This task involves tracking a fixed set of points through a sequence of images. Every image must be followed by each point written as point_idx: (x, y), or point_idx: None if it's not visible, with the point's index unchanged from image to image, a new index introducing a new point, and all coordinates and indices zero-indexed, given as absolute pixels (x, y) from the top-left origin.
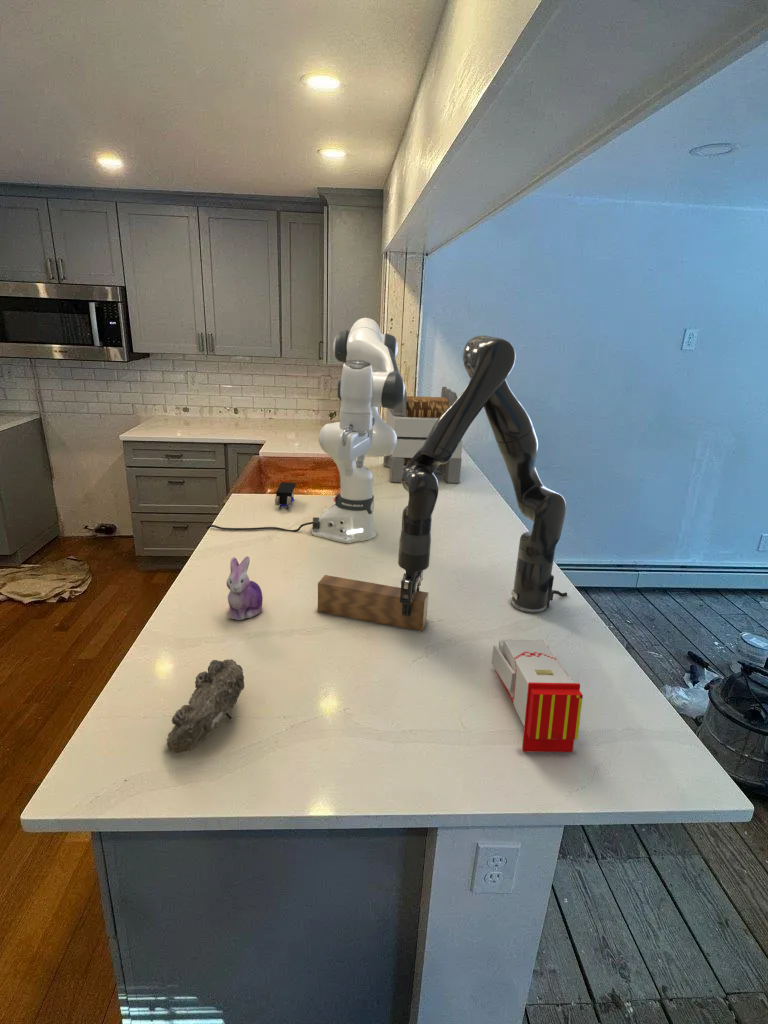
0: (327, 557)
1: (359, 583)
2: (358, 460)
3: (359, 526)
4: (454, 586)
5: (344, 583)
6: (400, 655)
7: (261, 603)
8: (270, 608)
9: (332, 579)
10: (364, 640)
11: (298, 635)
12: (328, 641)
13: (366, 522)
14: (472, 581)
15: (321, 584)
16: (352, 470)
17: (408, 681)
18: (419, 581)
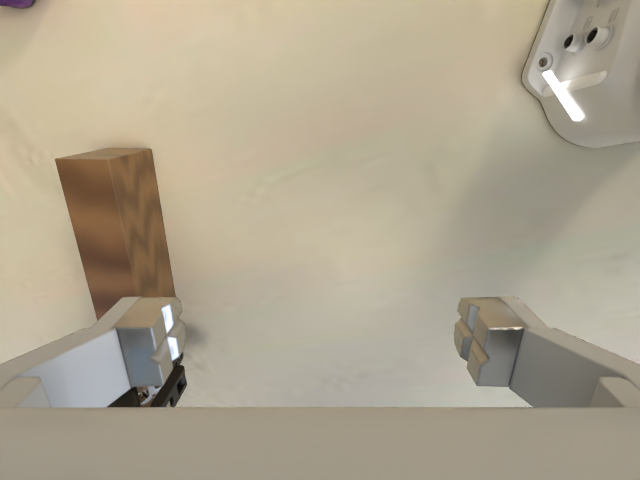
0: (402, 52)
1: (114, 259)
2: (529, 351)
3: (585, 109)
4: (337, 371)
5: (93, 226)
6: (63, 330)
7: (3, 5)
8: (57, 24)
9: (94, 189)
10: (68, 269)
11: (4, 146)
12: (25, 210)
13: (611, 129)
14: (370, 396)
15: (59, 169)
16: (142, 379)
17: (11, 351)
18: (142, 394)
